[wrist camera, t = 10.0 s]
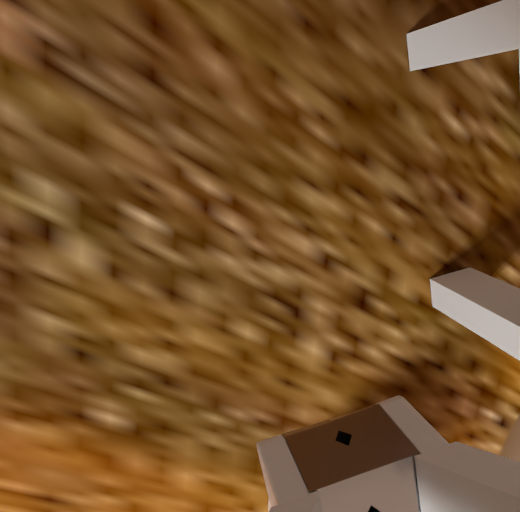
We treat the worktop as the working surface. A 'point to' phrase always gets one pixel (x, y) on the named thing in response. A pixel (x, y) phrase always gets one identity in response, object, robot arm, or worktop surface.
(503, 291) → the bridge
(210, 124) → the worktop surface
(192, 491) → the worktop surface
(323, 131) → the worktop surface
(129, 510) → the worktop surface
